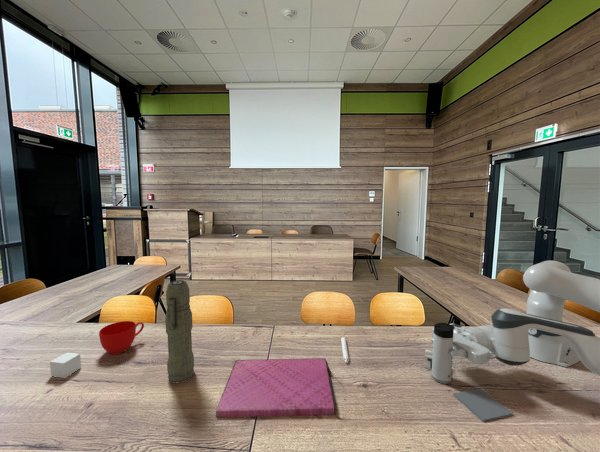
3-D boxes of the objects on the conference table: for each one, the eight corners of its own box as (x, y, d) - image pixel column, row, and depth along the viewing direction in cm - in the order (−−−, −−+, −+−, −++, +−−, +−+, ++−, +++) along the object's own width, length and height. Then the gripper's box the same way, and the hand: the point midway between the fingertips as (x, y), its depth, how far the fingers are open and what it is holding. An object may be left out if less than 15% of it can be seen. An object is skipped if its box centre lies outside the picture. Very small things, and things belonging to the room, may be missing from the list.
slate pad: (480, 389, 90) (480, 388, 90) (513, 415, 79) (513, 413, 79) (453, 395, 88) (453, 393, 88) (482, 421, 77) (483, 420, 77)
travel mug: (454, 385, 92) (457, 330, 90) (434, 382, 94) (436, 328, 92) (448, 374, 98) (451, 322, 97) (429, 371, 100) (431, 320, 98)
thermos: (197, 364, 104) (194, 276, 101) (189, 384, 92) (185, 286, 89) (173, 366, 103) (170, 277, 100) (162, 387, 91) (157, 287, 88)
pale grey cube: (81, 368, 101) (80, 353, 101) (65, 379, 96) (63, 363, 95) (67, 367, 102) (66, 352, 102) (51, 377, 97) (49, 361, 96)
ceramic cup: (152, 343, 119) (150, 322, 118) (109, 362, 105) (107, 338, 104) (137, 335, 126) (136, 315, 125) (94, 352, 112) (93, 330, 111)
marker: (349, 365, 104) (349, 359, 104) (343, 365, 104) (343, 359, 104) (345, 341, 122) (345, 336, 122) (341, 341, 122) (341, 336, 122)
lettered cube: (425, 361, 106) (425, 349, 106) (439, 364, 104) (439, 352, 104) (424, 368, 102) (424, 356, 101) (438, 372, 99) (439, 359, 99)
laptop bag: (214, 406, 78) (235, 355, 105) (215, 419, 79) (235, 365, 106) (349, 403, 79) (335, 353, 106) (349, 416, 79) (335, 363, 106)
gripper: (498, 365, 89) (467, 373, 85) (448, 336, 109) (420, 341, 104) (499, 347, 88) (468, 354, 84) (448, 321, 108) (421, 326, 104)
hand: (441, 347), depth 95 cm, fingers open, 6 cm apart
